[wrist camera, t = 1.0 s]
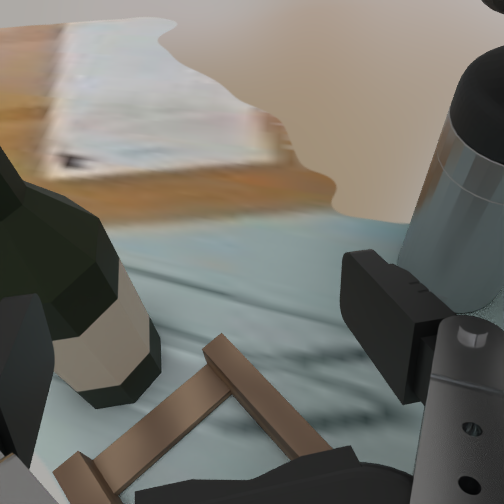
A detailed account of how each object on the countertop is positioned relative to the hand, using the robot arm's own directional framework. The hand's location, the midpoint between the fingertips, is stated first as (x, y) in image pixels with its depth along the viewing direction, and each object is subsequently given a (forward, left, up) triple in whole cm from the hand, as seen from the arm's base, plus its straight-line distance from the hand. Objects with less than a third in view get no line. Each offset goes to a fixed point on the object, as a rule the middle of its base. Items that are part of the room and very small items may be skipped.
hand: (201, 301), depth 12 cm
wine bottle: (+3, -15, -27) cm, 31 cm away
